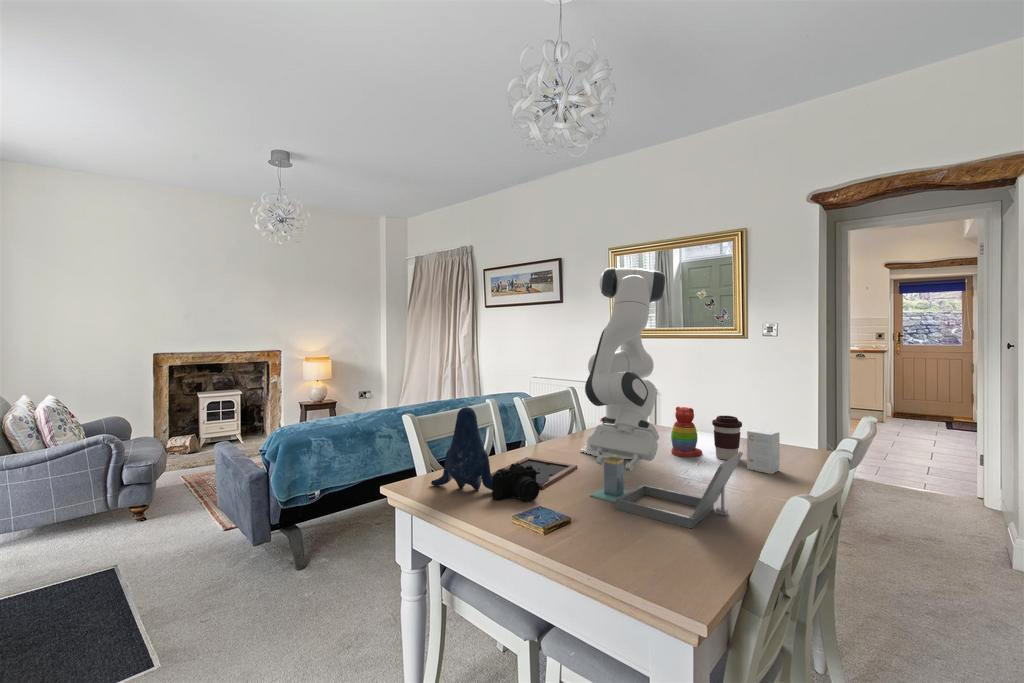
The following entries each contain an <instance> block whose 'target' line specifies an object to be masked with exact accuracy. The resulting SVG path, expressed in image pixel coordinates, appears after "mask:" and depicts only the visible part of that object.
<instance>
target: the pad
mask: <svg viewBox="0 0 1024 683" xmlns="http://www.w3.org/2000/svg"><path fill="white" fill-rule="evenodd" d="M630 491H631V490H626V489H624V493H623V494H622V495H620V496H618V497H614V496H610V495H606V494H604V487H602V488H600V489H598V490H596V491H594V492H592V493H590V494H589V497H592V498H595V499H600V500H604V501H608V502H612V503H614V504H616V499H618V498H619V497H621V496H623V495H625V494H627V493H628V492H630Z"/></svg>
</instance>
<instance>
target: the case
mask: <svg viewBox="0 0 1024 683" xmlns="http://www.w3.org/2000/svg"><path fill="white" fill-rule="evenodd" d="M743 455H744V453H743V452H741V451H738V453H737V454H736V455H734V456H733V457H731V458H730V459H728V460H724V462H723V463H721V464H720V465H718V467H717V469H716V471H715V473H714V475H713V476H712V479H711V480H710V482H709V484H708V486H707V488H706V490H705V492H704V494H703V495H702V496H697V495H692V494H688V493H683V492H679V491H674V490H669V489H667V488H666V489H665V488H663V487H662V488H660V487H656V486H652V485H648V484H641V485H639V486H637V487H635V488H634V489H632V490H629V491H630V492H628V493H627V494H625V495H623V496H621V497H619V498H618V499H616V503H615V510H619V511H622V512H627V513H630V514H633V515H637V516H641V517H644V516H645V518H648V517H649V518H648V519H652V518H653V519H652V520H656V519H657V521H659V520H660V522H663V521H664V523H667V522H668V524H671V523H672V524H671V525H675V526H678V525H680V526H679V527H682V526H683V527H682V528H686V527H687V529H690V528H692V527H693V526H694V527H695V526H696V525H697V524H698V522H699V521H700V520H701V519H702V520H703V519H705V518H706V517H707V516H708V515H709V514H710V513H711V512H712V511H713V509H714V510H715V514H716V513H717V514H716V515H719V514H721V515H720V516H723V515H726V516H727V515H729V508H725V505H726V504H725V502H726V501H725V499H726V498H725V494H726V493H725V490H726V489H725V488H726V485H727V483H728V482H729V480H730V478H731V476H732V474H733V473H734V471H735V470H736V467H737V466H738V464H739V461H740V460H741V458H742V456H743ZM644 494H645V495H644ZM642 495H643V496H648V495H650V496H649V497H653V496H654V497H653V498H657V497H658V499H661V498H662V500H665V499H667V500H666V501H670V500H671V501H670V502H674V501H676V502H675V503H678V502H680V503H679V504H683V503H685V504H684V505H687V504H688V506H691V505H693V506H692V507H695V506H697V507H696V508H695V509H694V511H693V512H692V513H691V514H689V515H685V514H682V513H681V514H680V513H678V512H674V511H669V510H666V509H661V508H657V507H652V506H650V505H644V504H641V503H638V502H637V503H636V502H634V500H635V501H636V500H638V499H640V498H641V497H643V496H642ZM639 497H640V498H639ZM637 498H638V499H637ZM719 498H720V506H718V507H716V508H714V506H715V503H716V502H717V501H718V499H719ZM632 501H633V502H632ZM707 514H708V515H707ZM706 515H707V516H706ZM705 516H706V517H705ZM702 520H701V521H702ZM701 521H700V522H701ZM700 522H699V523H700ZM694 527H693V528H694ZM693 528H692V529H693Z"/></svg>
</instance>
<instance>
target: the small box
mask: <svg viewBox="0 0 1024 683" xmlns="http://www.w3.org/2000/svg"><path fill="white" fill-rule="evenodd" d="M780 438H781V437H780V431H773V430H766V429H761V428H760V429H758V428H753V429H749V430H747V431H746V469H747V470H749V469H750V471H754V470H755V472H759V473H763V472H764V473H765V474H768V475H774V474H775V472H776V473H778V472H779V471H780V469H781V468H780V465H781V464H780V456H781V455H780V454H781V453H780V448H781V447H780ZM777 471H778V472H777Z"/></svg>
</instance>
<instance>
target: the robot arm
mask: <svg viewBox="0 0 1024 683" xmlns="http://www.w3.org/2000/svg"><path fill="white" fill-rule="evenodd" d="M599 289H600V292H601V294H602V295H603V297H606V298H608V299H614V302H613V306H612V314H611V316H610V319H609V320H608V323H607V325H606V326H605V327H604V329H603V330H602V331H601V334H600V338H599V341H598V344H597V348H596V350H595V353H594V354H592V355H591V357H590V358H589V360H588V363H587V369H588V370H587V371H588V372H589V375H588V377H587V379H586V381H585V386H584V392H585V396H586V397H587V399H588V401H590V403H592V405H594V406H596V407H602V406H605V416H603V417H602V418H600V419H599V422H600V423H601V422H602V423H601V424H598V425H596V428H595V430H593V432H591V433H590V434H589V435H588V437H587V440H586V445H584V446H582V447H581V448H580V453H583V452H584V453H583V454H586V453H587V455H590V454H591V456H594V457H596V459H595V463H596V465H600V466H603V465H604V459H606V458H609V457H616V458H622V459H624V460H630V462H628V461H627V462H626V464H625V467H624V468H625V469H626V471H629V472H632V471H633V470H634V467H635V466H637V465H638V464H640V462H641V460H642V461H643V460H644V461H648V462H651V461H653V460H654V459H655V458H656V456H657V455H656V454H657V451H658V448H659V447H658V445H659V444H658V440H659V439H660V435H659V432H658V430H657V429H656V427H655V426H654V424H653V423H651V422H649V421H648V418H649V417H650V416H651V414H652V412H653V409H654V406H655V403H656V399H657V388H656V386H655V384H654V383H653V382H651V381H650V380H648V379H646V378H648V377H649V376H650V375H652V373H653V369H654V360H653V358H652V356H651V354H650V353H648V352H647V350H646V349H645V347H644V345H643V341H642V332H643V331H644V330H646V327H647V325H648V321H649V315H650V304H651V303H653V302H654V303H655V302H658V301H660V300H661V299H662V298H663V296H664V295H665V293H666V291H667V281H666V275H665V274H664V272H661V271H658V270H655V269H654V270H649V269H645V268H639V267H634V268H630V267H617V268H616V267H609V268H608V267H607V268H606V269H605V270H603V273H602V274H601V276H600V278H599ZM619 348H620V350H619V351H618V349H619Z"/></svg>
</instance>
